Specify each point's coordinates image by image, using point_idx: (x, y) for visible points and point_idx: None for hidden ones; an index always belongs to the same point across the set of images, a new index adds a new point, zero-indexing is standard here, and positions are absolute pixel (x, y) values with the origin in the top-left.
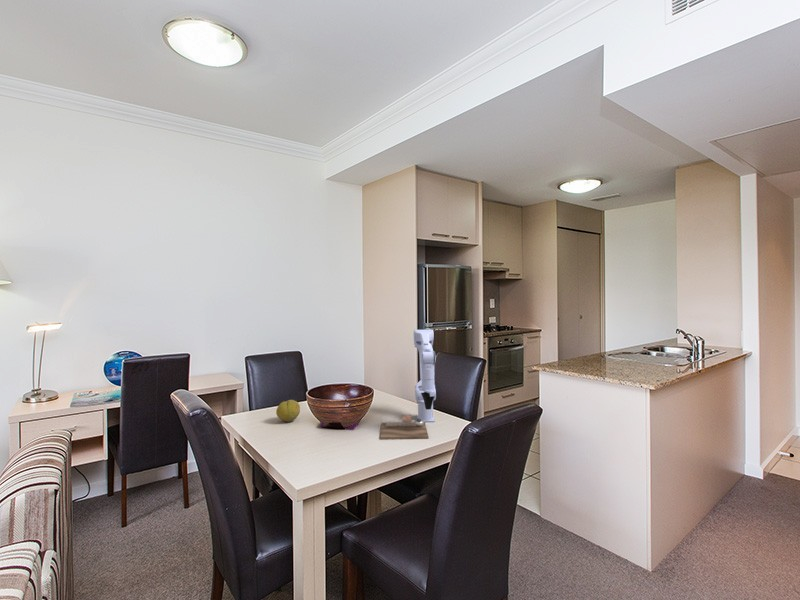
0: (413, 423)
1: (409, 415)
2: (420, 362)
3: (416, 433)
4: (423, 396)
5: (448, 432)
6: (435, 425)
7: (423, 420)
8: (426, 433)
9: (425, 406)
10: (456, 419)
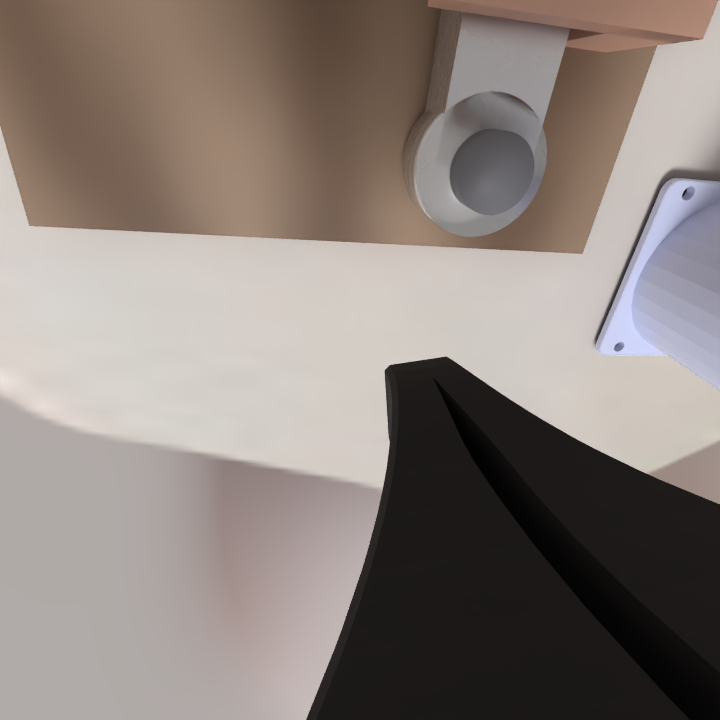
0: (446, 61)
1: (691, 1)
2: None
3: (130, 62)
4: (491, 667)
5: (274, 426)
6: (492, 345)
7: (656, 248)
8: (147, 216)
9: (431, 383)
10: None
